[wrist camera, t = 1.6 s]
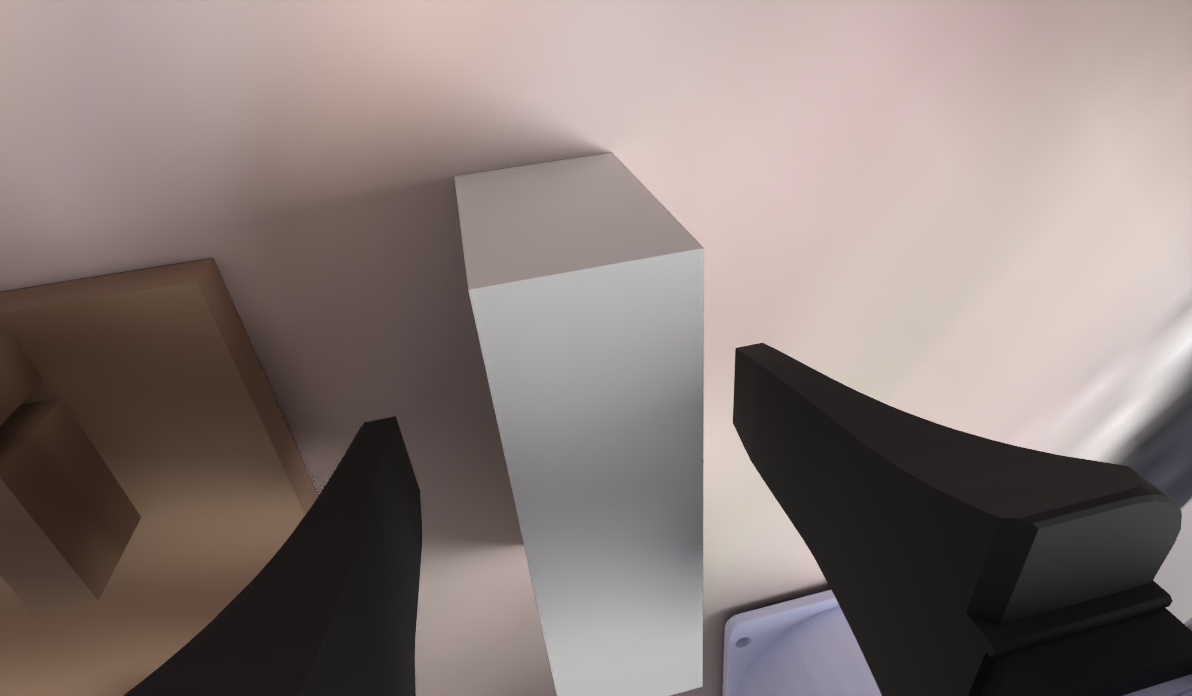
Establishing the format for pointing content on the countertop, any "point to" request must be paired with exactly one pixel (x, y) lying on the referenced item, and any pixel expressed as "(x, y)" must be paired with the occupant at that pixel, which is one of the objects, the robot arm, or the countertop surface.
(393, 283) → the countertop surface
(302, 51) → the countertop surface
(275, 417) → the rack
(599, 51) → the countertop surface
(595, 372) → the light gray block
